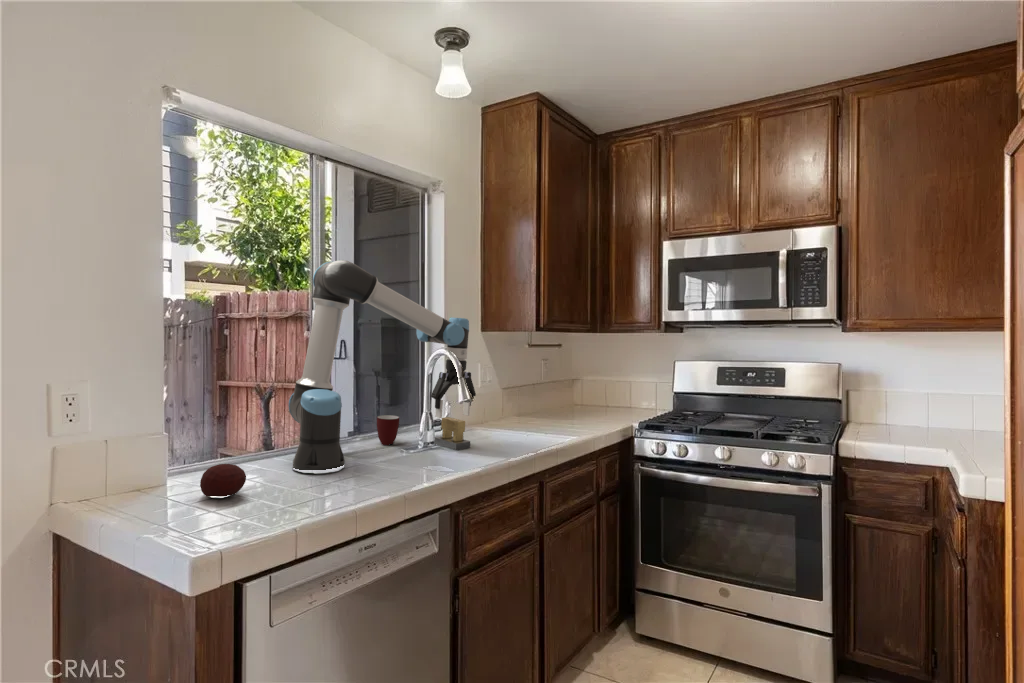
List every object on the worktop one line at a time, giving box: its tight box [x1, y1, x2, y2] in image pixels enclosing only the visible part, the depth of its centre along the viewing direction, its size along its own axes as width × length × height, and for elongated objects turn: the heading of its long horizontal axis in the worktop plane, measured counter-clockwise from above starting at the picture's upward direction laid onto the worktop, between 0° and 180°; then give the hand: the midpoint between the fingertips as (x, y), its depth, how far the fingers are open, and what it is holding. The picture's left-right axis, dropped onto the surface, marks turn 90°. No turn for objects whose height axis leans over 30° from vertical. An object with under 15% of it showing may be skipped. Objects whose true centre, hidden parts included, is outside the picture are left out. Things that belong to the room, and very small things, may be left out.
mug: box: [376, 414, 400, 446], centre depth 214 cm, size 11×8×10 cm
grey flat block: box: [434, 435, 471, 451], centre depth 216 cm, size 7×12×2 cm, turn 48°
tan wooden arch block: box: [440, 416, 466, 442], centre depth 216 cm, size 4×9×10 cm, turn 48°
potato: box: [199, 463, 247, 497], centre depth 147 cm, size 12×11×8 cm
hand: (452, 416), depth 215 cm, fingers open, 13 cm apart
